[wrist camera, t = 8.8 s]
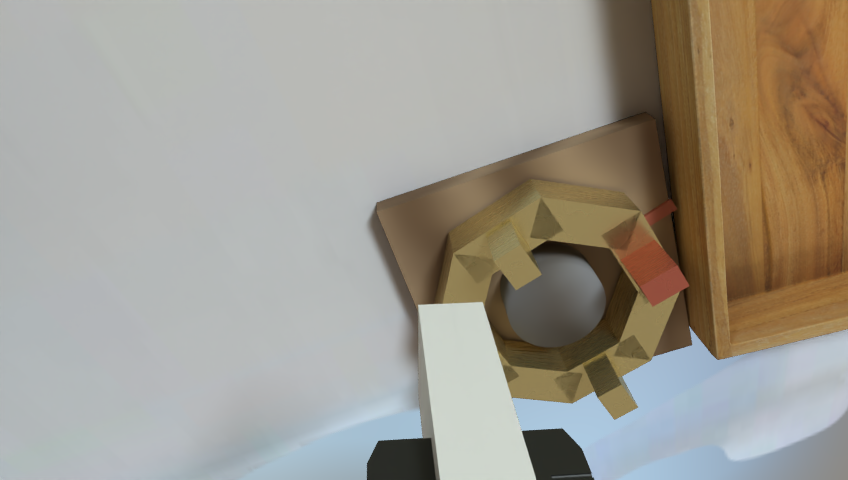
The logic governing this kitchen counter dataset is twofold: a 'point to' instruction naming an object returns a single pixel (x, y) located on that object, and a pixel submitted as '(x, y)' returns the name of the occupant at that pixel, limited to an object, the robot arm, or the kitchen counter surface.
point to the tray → (757, 165)
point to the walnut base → (558, 261)
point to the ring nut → (511, 253)
